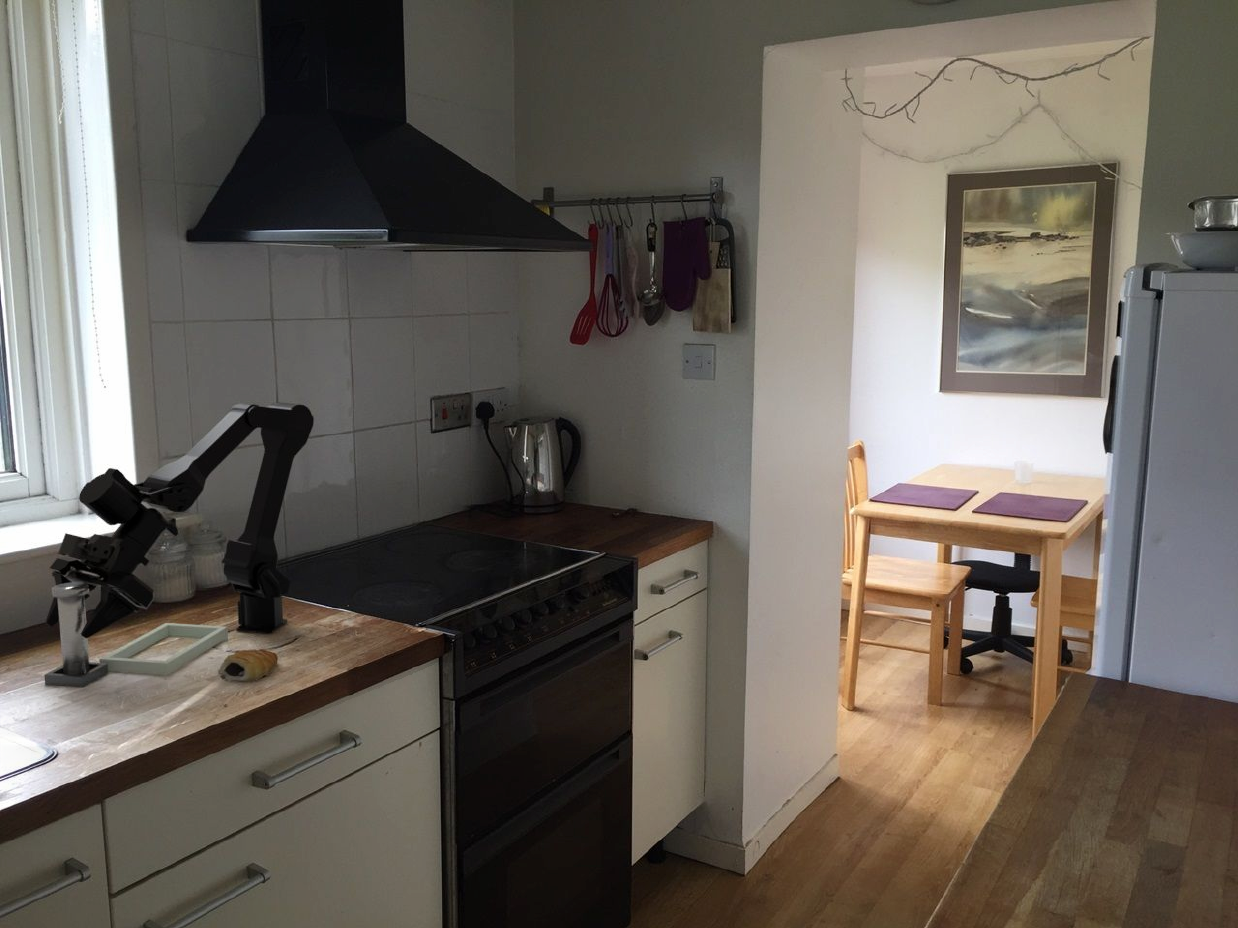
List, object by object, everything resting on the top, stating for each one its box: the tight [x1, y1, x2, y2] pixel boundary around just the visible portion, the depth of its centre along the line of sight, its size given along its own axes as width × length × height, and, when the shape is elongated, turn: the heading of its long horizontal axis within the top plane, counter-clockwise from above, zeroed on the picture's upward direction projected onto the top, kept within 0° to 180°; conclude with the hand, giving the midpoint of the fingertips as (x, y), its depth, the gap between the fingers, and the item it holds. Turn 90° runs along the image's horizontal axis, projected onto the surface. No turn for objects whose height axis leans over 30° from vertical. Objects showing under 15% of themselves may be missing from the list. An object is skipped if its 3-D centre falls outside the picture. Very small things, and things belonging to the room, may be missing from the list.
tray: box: [98, 622, 229, 676], centre depth 173 cm, size 11×18×2 cm, turn 171°
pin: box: [51, 582, 90, 675], centre depth 160 cm, size 5×5×14 cm
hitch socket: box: [44, 661, 109, 689], centre depth 161 cm, size 6×6×2 cm
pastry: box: [217, 648, 279, 683], centre depth 167 cm, size 9×7×4 cm
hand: (65, 630), depth 159 cm, fingers open, 9 cm apart
